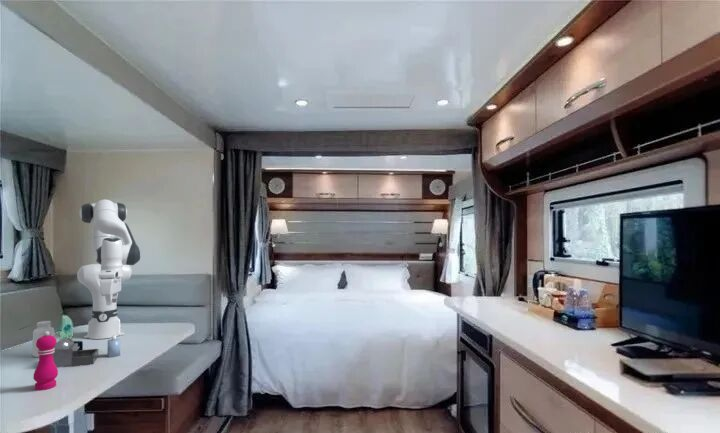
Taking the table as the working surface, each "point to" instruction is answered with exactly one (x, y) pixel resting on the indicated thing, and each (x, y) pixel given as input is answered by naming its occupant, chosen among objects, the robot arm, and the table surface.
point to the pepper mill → (45, 363)
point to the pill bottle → (41, 334)
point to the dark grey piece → (72, 354)
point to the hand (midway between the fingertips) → (111, 303)
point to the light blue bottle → (113, 347)
